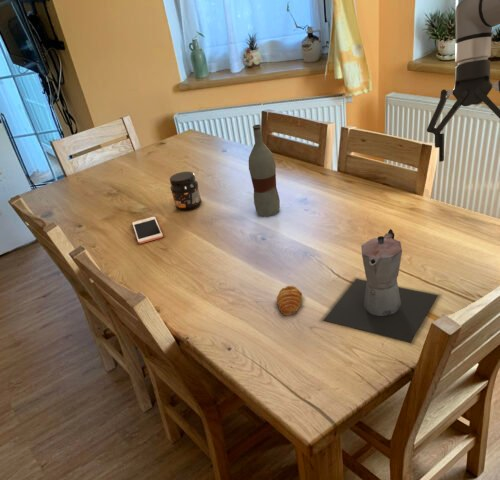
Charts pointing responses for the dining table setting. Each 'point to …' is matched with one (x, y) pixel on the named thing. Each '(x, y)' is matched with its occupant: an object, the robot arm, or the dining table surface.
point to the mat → (393, 326)
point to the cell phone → (147, 230)
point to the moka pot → (382, 274)
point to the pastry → (289, 300)
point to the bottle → (263, 177)
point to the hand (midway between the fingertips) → (470, 158)
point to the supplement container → (185, 191)
